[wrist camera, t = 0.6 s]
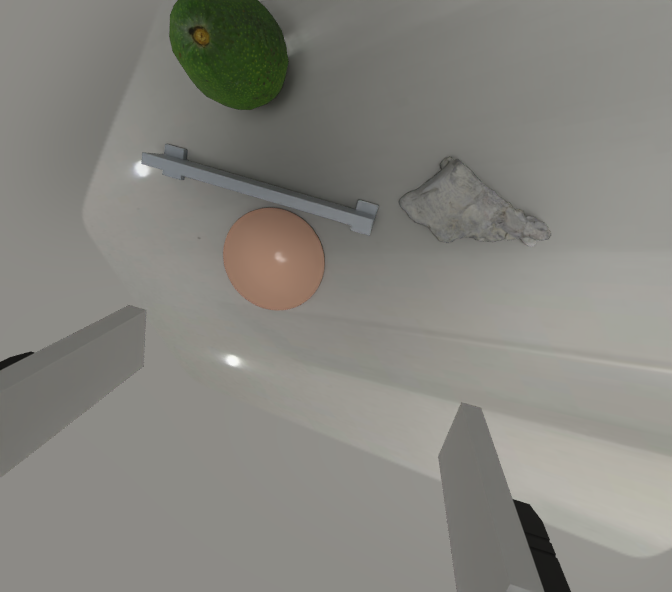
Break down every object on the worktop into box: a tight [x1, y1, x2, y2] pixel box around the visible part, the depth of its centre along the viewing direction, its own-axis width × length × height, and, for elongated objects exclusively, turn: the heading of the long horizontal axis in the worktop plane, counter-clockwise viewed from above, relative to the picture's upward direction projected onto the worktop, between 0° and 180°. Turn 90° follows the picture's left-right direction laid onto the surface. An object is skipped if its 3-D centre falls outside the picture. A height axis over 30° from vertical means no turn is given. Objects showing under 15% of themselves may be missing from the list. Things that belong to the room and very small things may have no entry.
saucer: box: [223, 208, 325, 310], centre depth 39 cm, size 11×11×1 cm
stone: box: [399, 157, 551, 246], centre depth 33 cm, size 6×12×4 cm, turn 57°
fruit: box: [169, 0, 288, 110], centre depth 28 cm, size 8×8×12 cm
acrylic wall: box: [141, 144, 379, 236], centre depth 35 cm, size 3×22×4 cm, turn 75°
